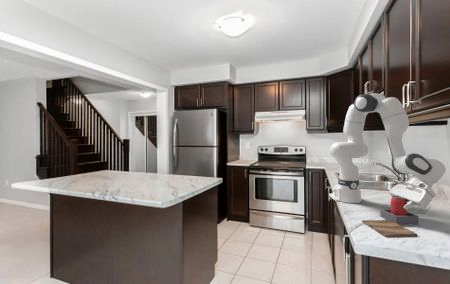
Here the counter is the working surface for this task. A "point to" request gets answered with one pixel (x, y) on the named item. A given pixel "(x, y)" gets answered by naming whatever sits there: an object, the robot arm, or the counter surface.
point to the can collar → (399, 217)
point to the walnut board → (389, 228)
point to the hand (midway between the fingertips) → (397, 206)
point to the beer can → (398, 206)
